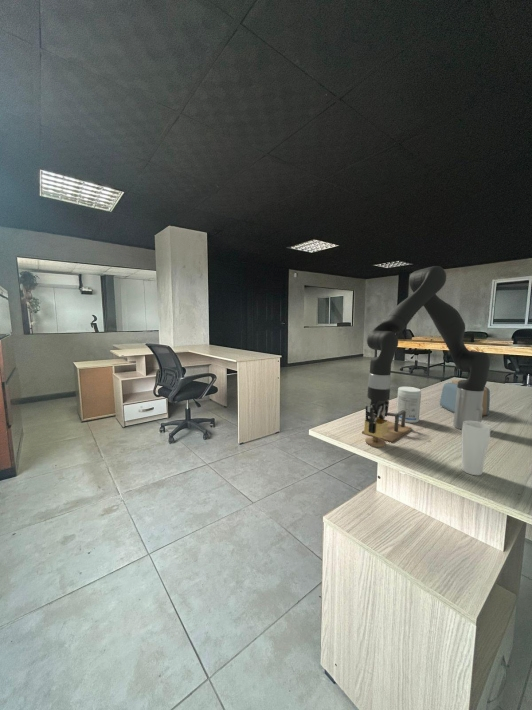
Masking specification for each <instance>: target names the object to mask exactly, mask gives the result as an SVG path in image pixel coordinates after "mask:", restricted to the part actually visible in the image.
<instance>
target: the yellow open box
mask: <svg viewBox="0 0 532 710" xmlns="http://www.w3.org/2000/svg"><path fill="white" fill-rule="evenodd" d="M368 419H369V417H368ZM388 421H389V420H387V419H381V418H377V420H376V426H375V433H370V432H369V431H368V430H369V422H366V419H364V426H363V427H364V429H363V431H364V433H366V434H369V435H372V436H375V437H378V438H381V437H382V436H384V435H386V434H387V429H388ZM366 434H365V435H366ZM369 435H368V436H369ZM372 436H371V437H372Z"/></svg>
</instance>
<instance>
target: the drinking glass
mask: <svg viewBox="0 0 532 710" xmlns="http://www.w3.org/2000/svg"><path fill="white" fill-rule="evenodd" d="M491 429H492V427H491V426H490V424H488V423H484V422H482V421H481V422H477V421H464V422H463V426H462V430H461V459H460V460H461V463H460V468H461V470H462V471H463V473H467V474H469V475H472V476H481V475H482V474H483V471H484V465H485V461H486V455H487V453H488V448H489V444H490V439H491Z"/></svg>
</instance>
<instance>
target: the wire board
mask: <svg viewBox="0 0 532 710" xmlns="http://www.w3.org/2000/svg"><path fill="white" fill-rule="evenodd" d="M374 415H376V414H374ZM401 415H402V420H401V421H400V420H399V416H401ZM388 416H390V417H394V421H389V420H388V429H387V434H386V435H384V436H382V437H381V438H379V439H382V440H385V442H387V441H388V442H387V443H390V442H391V444H393V443H394V442H396V441H397V440H399V439H400V438H401V437H403V436H404V435H406V434H407V433H410V432H411V431H412V429H413V427H411V426H407V425H406V422H405V417H406V412H405V410H402V411H400V412H398V413H395V412H388V414H387V416H386V417H388ZM399 421H400V423H399ZM361 433H362V434H363V435H366V436H369V437H373V436H372V435H369V434H366V433H364V430H362V431H361ZM392 442H393V443H392Z"/></svg>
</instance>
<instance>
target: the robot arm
mask: <svg viewBox="0 0 532 710" xmlns="http://www.w3.org/2000/svg"><path fill="white" fill-rule="evenodd" d="M446 282H447V273H446V270H445V269H444V268H443V267H441V266H440V265H434V266H428V267H424V268H421V269H417V270H415V271H413V272H412V273H411V274H410V275H409V279H408V283H409V287H410V289H411V291H412V294H410V295H409V296H408V297H406V298H404V299H403V300H402V301H401V302H400V303H399V304H397V305H396V306H395V307H394V308H393V310H392V311H391V312H390V313H389V315H388V316H387V317H386V319H384V320H383V321H381V322H380V323H379V324H378V325H377V326H375V327H374V328H373V329H372V330H371V331H370V333H368V335H367V339H366V344H367V346H368V348H370V349H371V350H373V351H374V350H375V351H380V353H379V355H378V356H373V357H372V358H371V359H370V363H369V375H368V379H367V380H368V382H367V398H368V399H369V400H370V403H369V405H366V406H365V420H366V422H369V430H368V431H369V432H370V433H375V426H376V420H377V418H381V419H384V420H386V417H388V416H387V414H388V413H389V405H390V401H389V400H390V396H391V382H392V379H391V371H392V363H393V359H394V357H395V354H396V352H397V349H398V347H399V337H398V335H397V334H399V333H402V332H403V331H404V329H406V327H407V326H408V324H409V323H410V322H411V320H412V319H413V318H414V316H415V315H416V314H417V313H418V312H419V311H420V309H422V307H424V309H425V311H426V312H427V314H428V316H429V317H430V318H431V320H432V322H433V324H434V326H435V328H436V330H437V332H438V333H439V334H440V336H441V338H442V340H443V341H444V343H445V345H446V347H447V349H448V351H449V354H450V356H451V358H452V361H453V363H454V365H455V367H456V368H457V370H459V371H461V372H465V373H469V376H468V378H466V379H459V380H460V381H458V385H457V395H456V404H455V413H453V427H454V428H456V429H458V430H461V431H462V426H463V422H464V421H477V422H481V423H482V422H483V415H482V412H483V407H482V402H483V394H484V387H486V385H487V381H488V378H489V377H488V376H489V372H490V366H491V359H490V356H489V354H487V353H486V352H483V351H476V350H475V351H474V350H469V349H468V347H466V345H465V343H464V341H463V340H464V336H465V333H466V324H465V322H464V320H463V318H462V316H461V314H460V312H459V311H458V310H457V309H456V308H455V307H454V306H452V305H451V304H449V303H447V302H446V301H445V300H443V299H441V298H440V297H439V296H438V295H437V293H438V292H440V290H441V289H442V288H443V287H444V286H445V283H446ZM374 414H376V415H374ZM368 418H369V419H368Z"/></svg>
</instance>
